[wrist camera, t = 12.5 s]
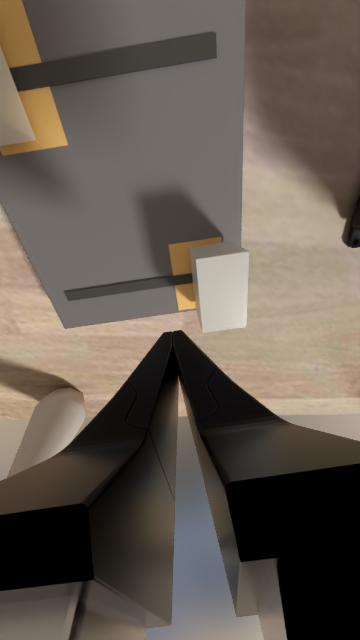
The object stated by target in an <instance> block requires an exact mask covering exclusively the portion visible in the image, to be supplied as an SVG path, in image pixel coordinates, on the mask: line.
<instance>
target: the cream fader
mask: <svg viewBox="0 0 360 640" xmlns="http://www.w3.org/2000/svg"><path fill="white" fill-rule="evenodd" d="M34 140H36V139H35V136H34V133H33V131H32V128H31V125H30V123H29V120H28V118H27V115H26V112H25V110H24V107H23V104H22V102H21V99H20V96H19V94H18V91H17V88H16V86H15V83H14V81H13V78H12V75H11V73H10V70H9V67H8V65H7V62H6V59H5V57H4V54H3V51H2V49H1V46H0V146H4V145H10V144H16V143H22V142H28V141H34Z"/></svg>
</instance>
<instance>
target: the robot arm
mask: <svg viewBox="0 0 360 640" xmlns="http://www.w3.org/2000/svg"><path fill="white" fill-rule="evenodd" d="M354 240H355V242H354V243H353V241H354ZM347 246H348V247H351V248H357V247H360V195H359V199H358V203H357V206H356V210H355V214H354V217H353V221H352V225H351V229H350V232H349V236H348V240H347ZM127 380H128V381H126V382H125V383H124V384H123V386H122V387H121V388H120V389H119V390H118V392H117V393H116V394H115V395H114V397H113V398H112V399H111V400H110V401H109V402H108V403H107V404H106V406H105V407H104V408H103V409H102V410H101V411H100V412H99V413H98V414H97V415H96V416H95V417H94V418H93V420H92V421H91V422H90V423H89V424H88V425H87V426H86V427H85V428H84V429H83V430H82V431H81V432H80V433H79V434H78V435H77V436H76V438H75V439H74V440H73V441H72V442H71V443H70V444H69V445H67V446H66V447H65V448H64V449H63V450H61V451H60V452H59V453H57V454H56V455H54V456H52V457H51V458H49V459H47V460H45V461H43V462H41V463H39V464H36V465H34V466H32V467H30V468H28V469H26V470H23V471H21V472H19V473H17V474H15V475H13V476H10V477H8V478H6V479H4V480H2V481H0V640H145V632H146V628H153V627H161V626H169V625H171V620H172V619H171V618H172V586H173V556H174V555H173V554H174V521H175V488H176V487H175V486H176V456H177V423H178V390H179V381H180V385H181V389H182V393H183V398H184V402H185V406H186V410H187V414H188V418H189V422H190V427H191V430H192V435H193V439H194V443H195V447H196V451H197V455H198V459H199V464H200V468H201V472H202V476H203V480H204V484H205V488H206V493H207V496H208V501H209V504H210V509H211V513H212V517H213V522H214V526H215V530H216V533H217V538H218V542H219V546H220V550H221V555H222V559H223V563H224V567H225V571H226V575H227V579H228V583H229V587H230V591H231V595H232V599H233V604H234V608H235V612H236V616H237V617H242V616H250V615H259V619H260V623H261V628H262V632H263V637H264V640H360V441H357V440H353V439H349V438H345V437H340V436H337V435H333V434H329V433H325V432H321V431H317V430H313V429H310V428H306V427H301V426H298V425H294V424H292V423H289V422H287V421H285V420H283V419H282V418H280V417H279V416H277V415H276V414H274V413H273V412H271V411H270V410H269V409H268V408H266V407H265V406H264V405H262V404H261V403H260V402H259V401H257V400H256V399H255V398H253V397H252V396H251V395H250V394H248V393H247V392H246V391H244V390H243V389H242V388H241V387H239V386H238V385H237V384H236V383H235V382H233V381H232V380H231V379H230V378H229V377H228V376H227V375H226V374H225V373H224V372H223V371H222V370H221V369H220V368H219V367H218V366H217V365H216V364H215V363H214V362H213V361H212V360H211V359H210V358H209V357H208V356H207V355H206V354H205V353H204V352H203V351H202V350H201V349H200V348H199V347H198V346H197V345H196V344H195V343H194V342H193V341H192V340H191V339H190V338H189V337H188V336H187V335H186V334H185V333H184V332H183V331H182V330H178V331H173V332H164V333H163V334H162V335H161V337H160V338H159V339H158V340H157V342H156V343H155V344H154V346H153V347H152V348H151V349H150V351H149V352H148V353H147V355H146V356H145V357H144V358H143V360H142V361H141V362H140V364H139V365H138V366H137V368H136V369H135V370H134V371H133V373H132V374H131V375H130V377H129V378H128V379H127Z"/></svg>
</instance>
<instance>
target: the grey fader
mask: <svg viewBox="0 0 360 640" xmlns="http://www.w3.org/2000/svg"><path fill="white" fill-rule="evenodd" d="M189 250H190V260H191V269H192V278H193V288H194V297H195V307H196V311H197V314H198V318H199V322H200V325H201V329H202V332H203V333H206V332H213V331H220V330H227V329H234V328H241V327H246V319H247V293H248V268H249V251H247V250H246V249H244V248H242V247H240V246H238V245H236V244H234V243H232V242H231V241H226V242H220V243H213V244H206V245H200V246H193V247H189Z"/></svg>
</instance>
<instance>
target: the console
mask: <svg viewBox="0 0 360 640" xmlns="http://www.w3.org/2000/svg"><path fill="white" fill-rule="evenodd" d="M245 8H246V0H0V46H1V49H2V51H3V54H4V57H5V59H6V62H7V65H8V67H9V70H10V73H11V75H12V78H13V81H14V83H15V86H16V88H17V91H18V94H19V96H20V99H21V102H22V104H23V107H24V110H25V112H26V115H27V118H28V120H29V123H30V125H31V128H32V131H33V133H34V136H35V139H36V140H34V141H28V142H22V143H16V144H10V145H4V146H0V202H1V204H2V206H3V208H4V210H5V212H6V214H7V216H8V218H9V220H10V222H11V224H12V226H13V228H14V230H15V232H16V234H17V236H18V237H19V239H20V241H21V243H22V245H23V247H24V249H25V251H26V253H27V255H28V257H29V259H30V261H31V263H32V265H33V267H34V269H35V271H36V273H37V275H38V277H39V279H40V281H41V283H42V285H43V287H44V289H45V291H46V293H47V295H48V297H49V299H50V301H51V303H52V305H53V307H54V309H55V310H56V312H57V314H58V316H59V318H60V320H61V322H62V324H63V326H64V328H65V329H67V328H74V327H81V326H88V325H95V324H102V323H109V322H115V321H122V320H129V319H136V318H143V317H150V316H157V315H164V314H171V313H178V312H185V311H192V310H196V307H195V297H194V288H193V278H192V269H191V260H190V250H189V247H193V246H200V245H206V244H213V243H220V242H226V241H231V242H232V243H234V244H236V245H238V246H240V247H241V218H242V165H243V113H244V60H245Z"/></svg>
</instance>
